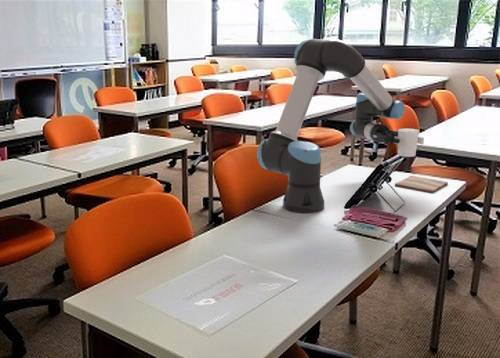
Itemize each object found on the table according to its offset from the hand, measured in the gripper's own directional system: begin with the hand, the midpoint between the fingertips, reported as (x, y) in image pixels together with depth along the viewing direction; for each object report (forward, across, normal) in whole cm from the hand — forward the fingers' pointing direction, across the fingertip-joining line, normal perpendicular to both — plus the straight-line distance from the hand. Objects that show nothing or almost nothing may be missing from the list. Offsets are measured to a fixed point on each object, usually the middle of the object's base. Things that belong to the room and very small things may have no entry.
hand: (414, 141), depth 197 cm
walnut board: (-7, -12, -21) cm, 25 cm away
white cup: (-4, 0, -6) cm, 7 cm away
